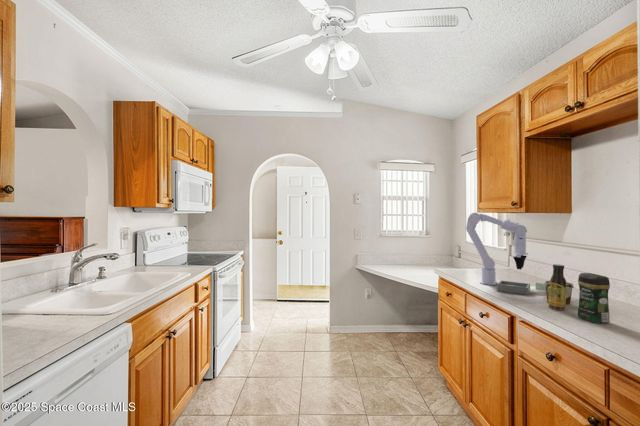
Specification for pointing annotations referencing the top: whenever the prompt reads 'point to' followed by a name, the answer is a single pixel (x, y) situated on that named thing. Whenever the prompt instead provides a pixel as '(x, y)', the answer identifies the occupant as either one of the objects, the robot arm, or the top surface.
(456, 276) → the top surface
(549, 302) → the sauce bottle
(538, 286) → the lid
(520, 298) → the top surface
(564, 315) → the top surface
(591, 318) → the coffee jar
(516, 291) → the tub
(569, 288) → the food container
